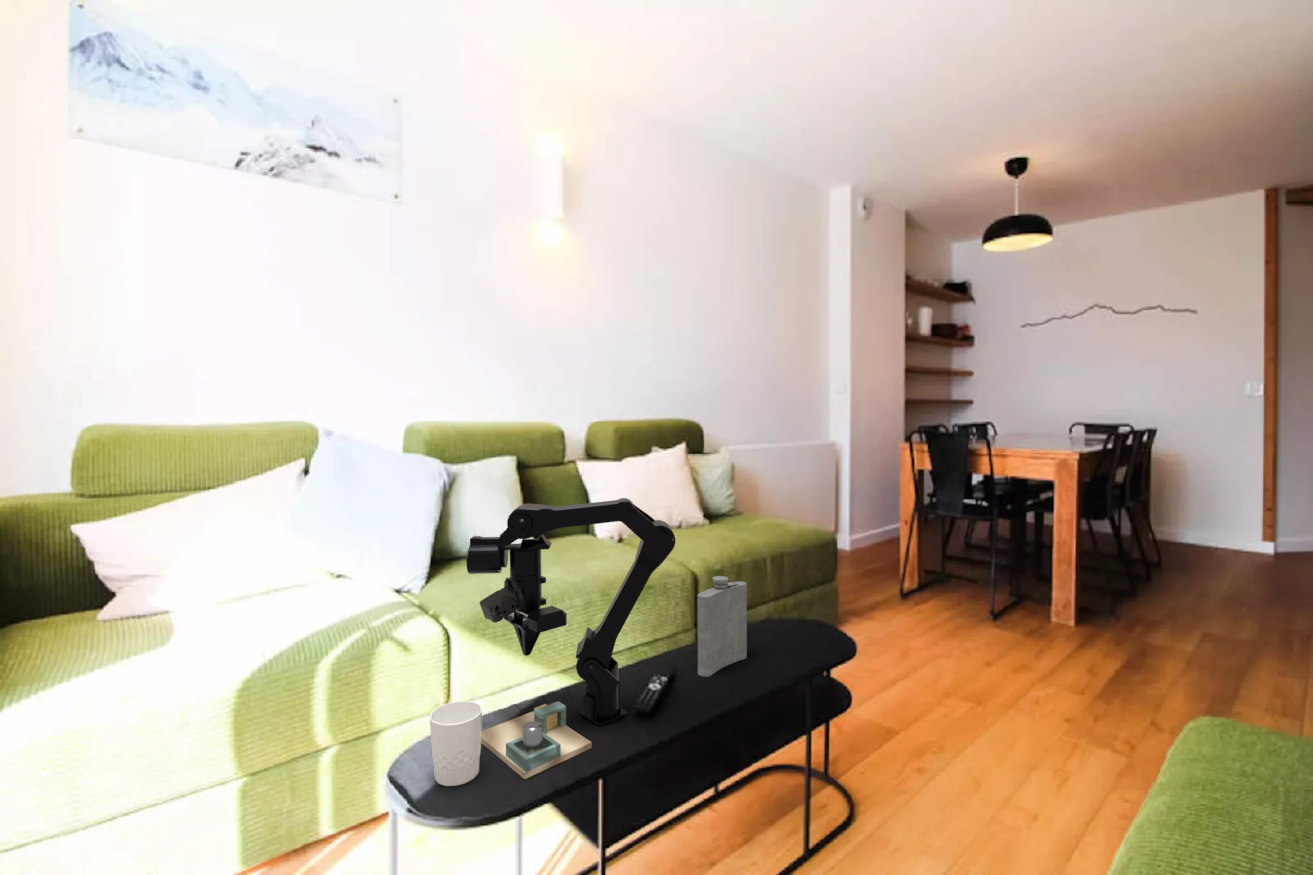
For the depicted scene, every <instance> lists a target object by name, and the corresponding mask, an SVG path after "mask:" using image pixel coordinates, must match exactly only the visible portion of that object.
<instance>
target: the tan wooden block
mask: <svg viewBox="0 0 1313 875" xmlns="http://www.w3.org/2000/svg"><path fill="white" fill-rule="evenodd" d="M547 705H548V704H547V703H544V704H541V705H539V706H536V707H534V708H533V711H534V710H536V709H539V708H541V707H544V706H547ZM557 726H558V712H557V713H555V714H552V715H550V716H547V731H548V730H550V729H553V728H555V727H557Z"/></svg>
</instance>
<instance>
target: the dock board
mask: <svg viewBox="0 0 1313 875" xmlns="http://www.w3.org/2000/svg"><path fill="white" fill-rule="evenodd" d="M546 705H547V706H544V707H541V708H539V709H536V710H534V709H533V711H530V712H528V713H525V714H523V715H520V716H517V717H515V718H512V719H509V720H507V721H504V722H502V723H501V722H500V723H498V724H497V725H494V726H491V727H489V728H486V729H483V730H481V745H483V746H484V747H486V749H488V750H489V751H490V752H491V753H492V754H493V755H495V756H496V757H497V758H498V759H499V760H501V761H502V762H503V763H504V764H506V765H507V766H508V767H509V768H510V769H512V770H513V771H514V772H515V773H516V774H518V775H519V776H520V778H522V779H523V780H527V779H529V778H531V777H533V776H535V775H537V774H539V773H541V772H543V771H547V770H548V769H550V768H552V767H554V766H556V765H558V764H560V763H563V762H565V761H566V760H570V759H571V758H573V757H577V756H578V755H580V754H583V753H584V752H587V751H589V750H590V749H593V748H592V747H593V744H592V741H591V740H589V739H587V738H586V737H585V736H583V735H582V734H580V733H578V732H577V731H575V730H573V729H572V728H570V727H569V726H568V725H567V707H566V705H565V704H564V703H562V702H560V701H557V700H556V701H555V702H551V703H549V704H546ZM557 712H558V726H557V727H555V728H553V729H550V730H548V731H547V716H550V715H552V714H555V713H557ZM532 721H538V722H541V723H542V727H543V749H542V750H540V751H538V752H535V753H533V754H531V755H526V754H525V753H524V752H523V725H524V724H526V723H528V722H532Z"/></svg>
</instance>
